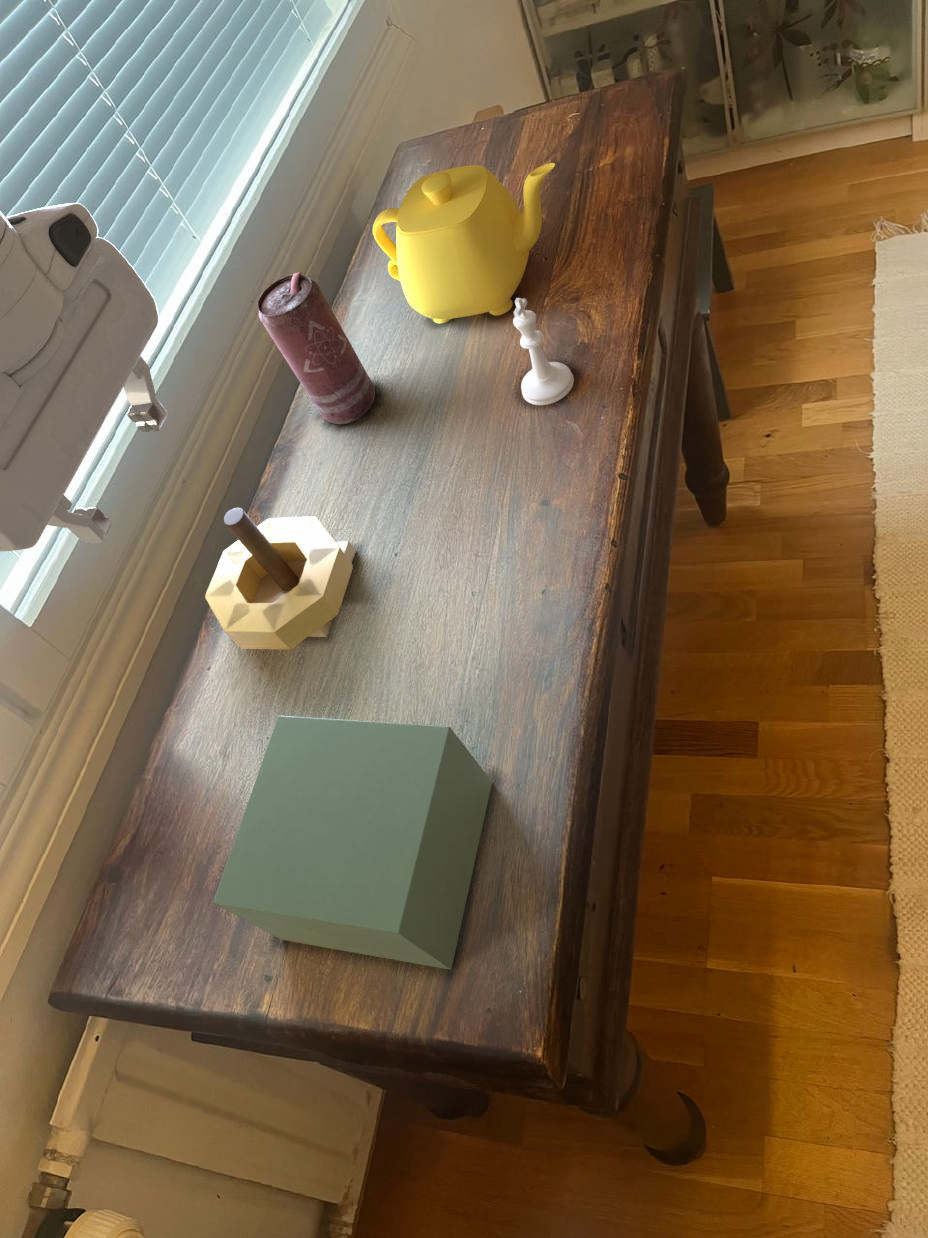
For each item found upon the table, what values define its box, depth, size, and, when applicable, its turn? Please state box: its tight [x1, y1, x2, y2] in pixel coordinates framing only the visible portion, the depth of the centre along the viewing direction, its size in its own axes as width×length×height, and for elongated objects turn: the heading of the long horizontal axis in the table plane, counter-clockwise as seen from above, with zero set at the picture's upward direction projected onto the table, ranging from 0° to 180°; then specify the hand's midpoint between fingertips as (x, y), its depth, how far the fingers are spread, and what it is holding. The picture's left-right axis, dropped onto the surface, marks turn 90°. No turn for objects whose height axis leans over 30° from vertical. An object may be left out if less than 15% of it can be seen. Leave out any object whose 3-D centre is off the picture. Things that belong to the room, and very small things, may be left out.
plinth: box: [212, 715, 493, 970], centre depth 62 cm, size 13×13×9 cm
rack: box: [223, 507, 356, 638], centre depth 78 cm, size 9×9×11 cm
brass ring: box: [204, 515, 354, 651], centre depth 80 cm, size 12×12×3 cm
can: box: [257, 271, 376, 425], centre depth 89 cm, size 6×6×14 cm
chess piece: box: [512, 297, 575, 406], centre depth 82 cm, size 5×5×10 cm
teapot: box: [372, 162, 556, 324], centre depth 92 cm, size 14×20×13 cm
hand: (129, 477), depth 61 cm, fingers open, 8 cm apart
